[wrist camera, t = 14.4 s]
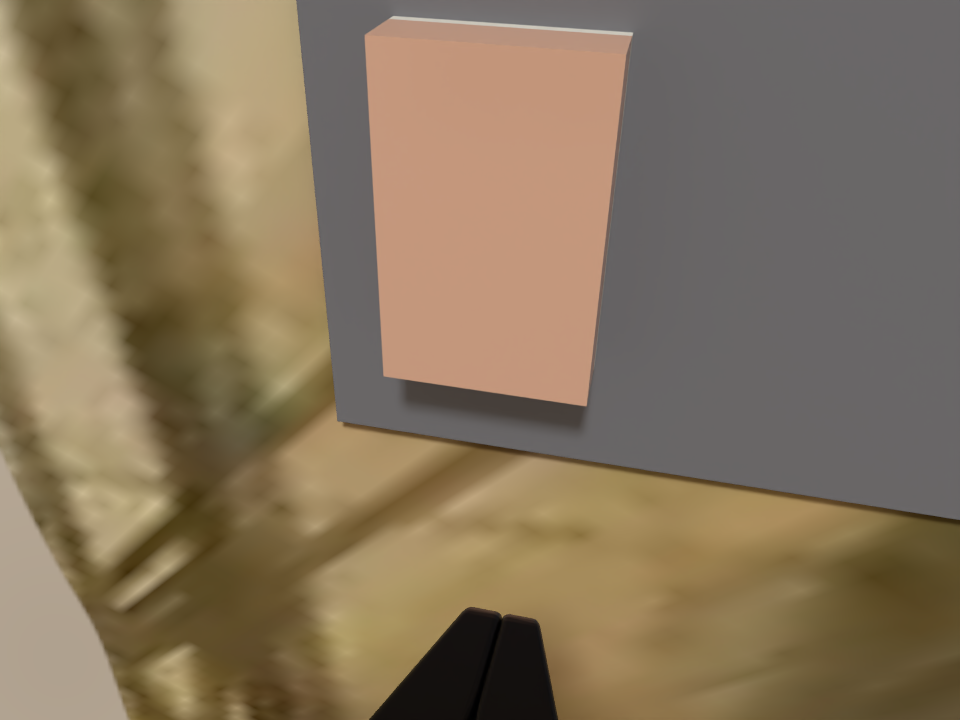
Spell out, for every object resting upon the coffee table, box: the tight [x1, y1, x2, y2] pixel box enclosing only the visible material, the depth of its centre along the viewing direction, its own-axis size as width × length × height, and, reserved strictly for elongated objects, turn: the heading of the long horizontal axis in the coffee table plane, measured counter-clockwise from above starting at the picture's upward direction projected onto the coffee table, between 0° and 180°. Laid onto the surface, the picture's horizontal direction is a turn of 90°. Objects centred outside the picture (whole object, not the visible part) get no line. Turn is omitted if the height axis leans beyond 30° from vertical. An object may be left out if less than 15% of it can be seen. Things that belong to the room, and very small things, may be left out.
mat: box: [296, 0, 960, 520], centre depth 18 cm, size 18×16×1 cm
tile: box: [365, 16, 633, 406], centre depth 18 cm, size 2×8×5 cm
